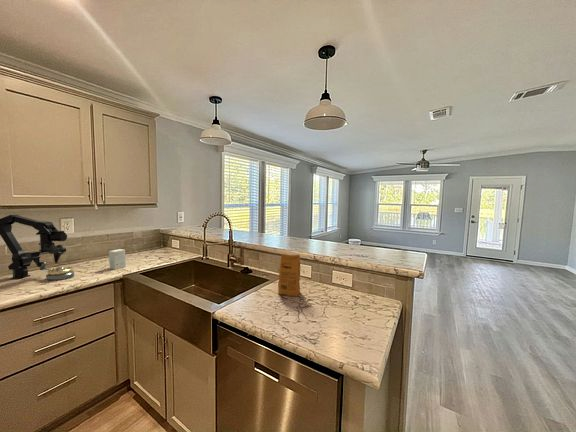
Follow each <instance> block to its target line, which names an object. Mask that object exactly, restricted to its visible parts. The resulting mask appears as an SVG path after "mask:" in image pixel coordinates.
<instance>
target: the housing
mask: <svg viewBox="0 0 576 432" xmlns="http://www.w3.org/2000/svg"><path fill="white" fill-rule="evenodd" d="M74 277H75V271H74V270H72V272H70V273H67V274H63V275H54V276H51V275H48V273H47V274H45V279H46V280H47V281H46V282H58V281H59V282H60V281H65V280H69V279H72V278H74Z"/></svg>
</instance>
